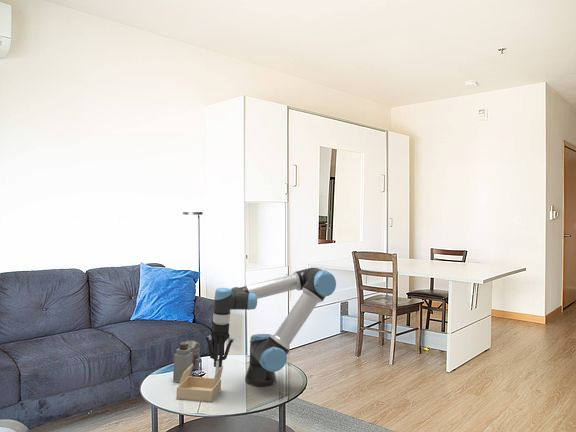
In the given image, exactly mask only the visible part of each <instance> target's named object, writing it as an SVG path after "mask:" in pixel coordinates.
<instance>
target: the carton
mask: <svg viewBox="0 0 576 432" xmlns="http://www.w3.org/2000/svg"><path fill="white" fill-rule="evenodd" d="M213 381H214V378H212V377H201V376H193V375H192V376H188V377H187V378H186V379H185V380H184V381H183V382H182V383H181V384H180V385H179V384H178V386H177V387H176V398H175V399H176V400H181V401H182V400H183V401H194V402H202V403H213V402H214V400H215V398H216V397H217V395H219V393H220V391H221V390H222V379H221V378H220V379H219V381H218V382H217V383H216V385H215V386H214V387H213V388H212V386H213Z"/></svg>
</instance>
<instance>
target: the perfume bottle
mask: <svg viewBox="0 0 576 432" xmlns="http://www.w3.org/2000/svg"><path fill="white" fill-rule="evenodd" d="M181 343H182V342H181ZM181 343H180V344H179V346H178V347H179V348H177V349H176V353H174V354H173V373H172V374H173V376H172V378H173V379H172V383H174V384H179V382H180V380H181V377H182V375H183V373H184V372H185V371H186V370H187V369H188V368H189V367H190V366H191V365H192V359H193V352H190V350H191V348H188V344H186V343H182V344H181ZM189 376H192V377H193V370H192V369H191V371H190V374H189Z"/></svg>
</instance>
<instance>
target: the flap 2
mask: <svg viewBox="0 0 576 432" xmlns="http://www.w3.org/2000/svg"><path fill="white" fill-rule="evenodd" d="M223 368H224V365H222V367H221V368H220V369H219V370H218V372H217V373H216V374H215V373H214V381H213V386H212V388H213V387H214V386H215V385H216V383H217V382H218V381H219V379H221V378H222V375H223V374H222V373H223Z"/></svg>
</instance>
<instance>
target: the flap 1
mask: <svg viewBox="0 0 576 432" xmlns="http://www.w3.org/2000/svg"><path fill="white" fill-rule="evenodd" d="M192 366H193V364H192V365H191V366H190V367H189V368H188V369H187V370H186V371H185V372H184V373H183V375H182V377H181V380H180V382H179V383H178V386H179V385H180V384H181V383H182V382H183V381H184V380H185V379H186V378H187V377H188V376H189V374H190V371H191V369H192Z"/></svg>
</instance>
